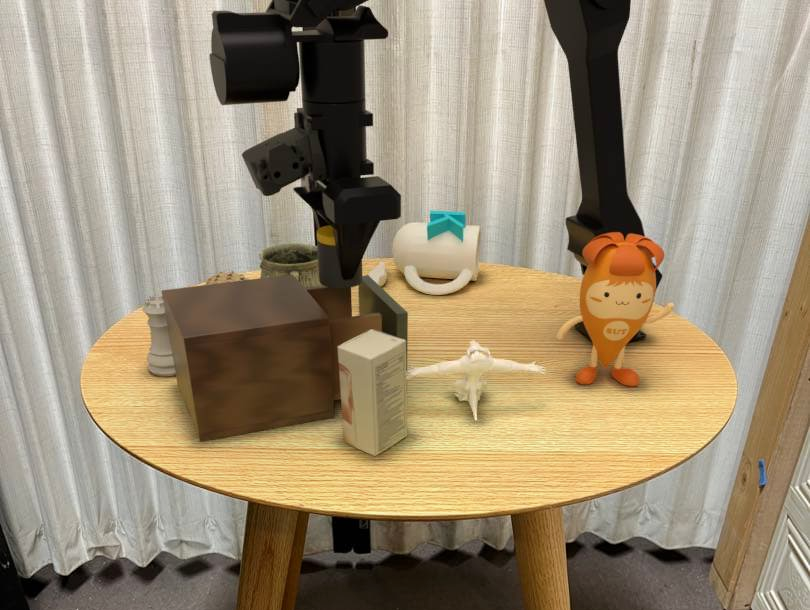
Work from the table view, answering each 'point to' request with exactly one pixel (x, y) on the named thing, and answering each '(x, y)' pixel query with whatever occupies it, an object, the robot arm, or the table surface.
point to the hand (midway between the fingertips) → (340, 271)
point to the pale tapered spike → (379, 274)
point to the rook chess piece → (159, 338)
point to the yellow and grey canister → (332, 262)
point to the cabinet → (250, 355)
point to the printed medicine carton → (373, 391)
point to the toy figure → (616, 299)
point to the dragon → (473, 372)
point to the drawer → (359, 317)
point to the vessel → (291, 262)
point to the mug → (438, 252)
